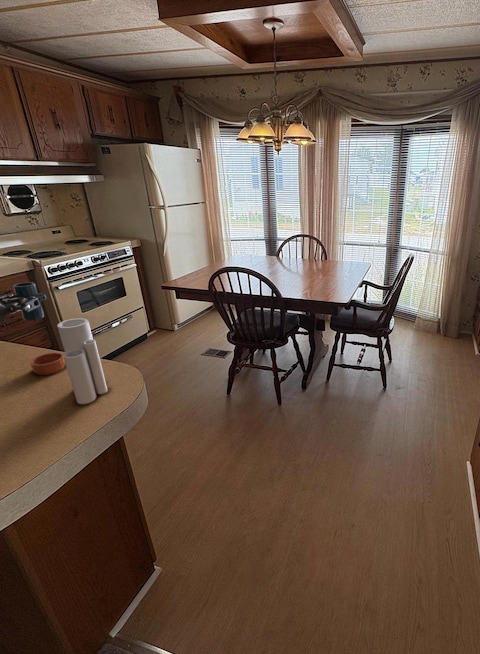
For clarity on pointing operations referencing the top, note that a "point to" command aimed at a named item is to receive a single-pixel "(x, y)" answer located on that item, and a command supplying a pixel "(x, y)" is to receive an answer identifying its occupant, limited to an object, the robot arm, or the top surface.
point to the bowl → (48, 363)
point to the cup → (26, 291)
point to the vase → (82, 360)
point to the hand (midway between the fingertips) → (36, 295)
